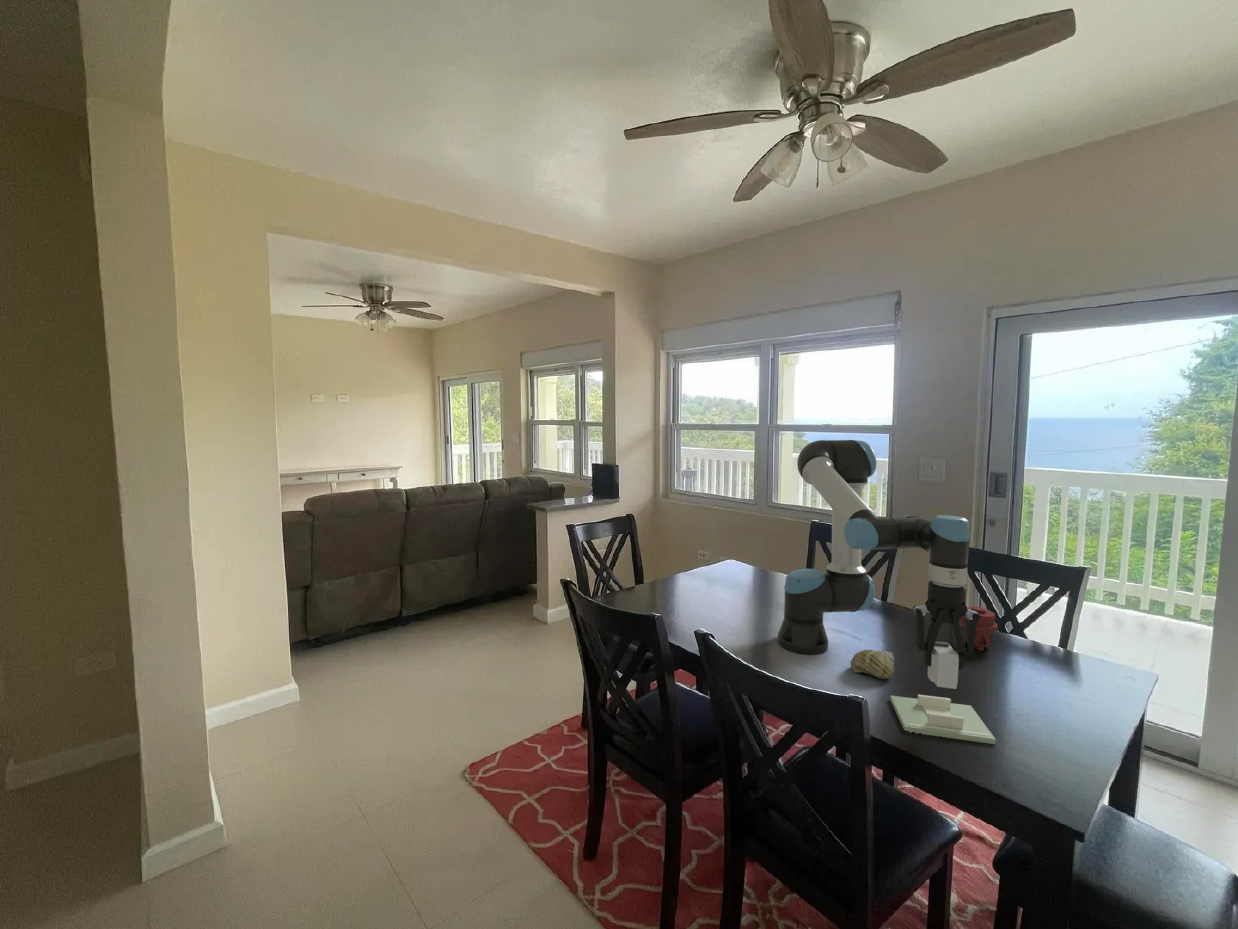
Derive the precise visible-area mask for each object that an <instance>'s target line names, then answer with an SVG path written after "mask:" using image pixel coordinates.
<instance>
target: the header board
mask: <svg viewBox="0 0 1238 929" xmlns="http://www.w3.org/2000/svg"><path fill="white" fill-rule="evenodd" d="M889 698H890V699H889V700H890V702H891V705H892V707H893V709H894V711H895V713H896V716H897V718H898V719H899V722H900V724H901V726H902V729H903V730H905V731H909V732H908V733H912V732H915V733H914V734H919V733H921V734H920V735H926V736H933V737H940V736H941V738H948V739H955V740H963V741H970V742H977V743H984V744H990V745H991V744H992V745H996V741H997V739H996V738H995V736H994V735H993V734H992V732H991V731H990V730H989V728H988V727H987V725H986V724H985V723H984V722H983V720H982V719H981V717H980V716H979V714H978V713H977V711H975V709H974V708H973V706H972V705H968V704H963V703H960V704H959V703H952V699H951V698H949V697H944V696H943V697H942V696H941V697H940V696H935V695H925V694H917V698H912V697H906V696H905V697H904V696H898V695H890V697H889ZM905 731H904V732H905Z"/></svg>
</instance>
